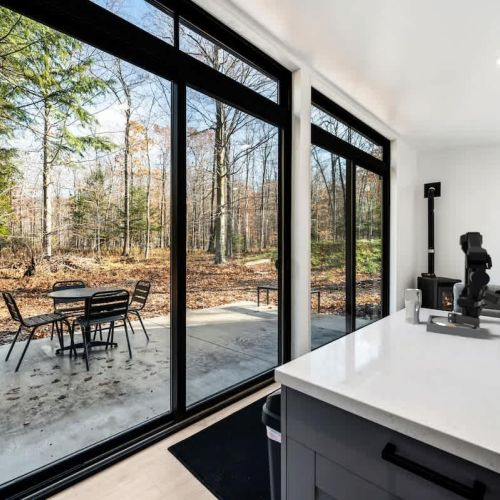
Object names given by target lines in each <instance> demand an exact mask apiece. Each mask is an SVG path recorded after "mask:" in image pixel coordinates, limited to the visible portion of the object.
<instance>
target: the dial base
mask: <svg viewBox="0 0 500 500" xmlns="http://www.w3.org/2000/svg"><path fill="white" fill-rule="evenodd" d="M441 317H443V318H448V316H443V315H435V314H434V315H433V314H429V315H428V318H427V321H426V325H425V326H426V332H427V333H435V334H443V335H450V336H457V337H464V338H472V339H477V340H478V339H479V340H481V332H482V331H481V327H480V326H481V325H480V326H475V329H470V328H462V327H456V326H451V325H449V326H447V325H439V324H432V319H433V318H441Z"/></svg>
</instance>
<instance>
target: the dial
mask: <svg viewBox="0 0 500 500" xmlns="http://www.w3.org/2000/svg"><path fill="white" fill-rule="evenodd" d="M447 317H448V318H443V317H441V318H433V319H432V324H439V325H447V326H449V325H451V326H456V327H462V328H470V329H475V326H481V325H480V324H481V323H480V321H481V320H480V319H481V318H480V317H479V318H476V317H471V316H465V315H461V314H459V313H456V312H447Z"/></svg>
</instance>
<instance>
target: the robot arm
mask: <svg viewBox="0 0 500 500" xmlns="http://www.w3.org/2000/svg"><path fill="white" fill-rule="evenodd" d="M483 241H484V240H483V234H481V232H480V231H479V232H478V231H468V232H467V231H466V232H465V233H464V234H461V235H460V236H459V246H460V250H461V251H462V252H463V254H464V284H463V287H462V288H461V289H460V291H459V294H458V295H457V296H458V298H457V299H456V305H457V306H458V308H461V309H460V310H461V314H460V315H465V316H471V317H476V318H480V317H481V315H482V311H483V309H484V308H486V307H487V306H489V304H488V303H485V301H487V302H490V303H491V304H493V305H496V306H497V305H498V304H499V305H500V289H496V290H495V291H494V290H490V289H489V285H488V284H489V283H490V282H491V281H490V280H491V276H490V275H489V274H488V273H487V270H491V269H492V268H493V261H492V260H493V259H492V257H491V255H490V254H489V253H488V250H487V249H486V248H484V247H482V246H483Z"/></svg>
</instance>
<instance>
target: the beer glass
mask: <svg viewBox="0 0 500 500" xmlns="http://www.w3.org/2000/svg"><path fill="white" fill-rule="evenodd" d="M403 298H404V307H405V315H406V316H405V323H407V324H412V325H420V324H421V321H420V312H421V306H422V299H423V298H422V290H421V289H418V288H404V297H403Z"/></svg>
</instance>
